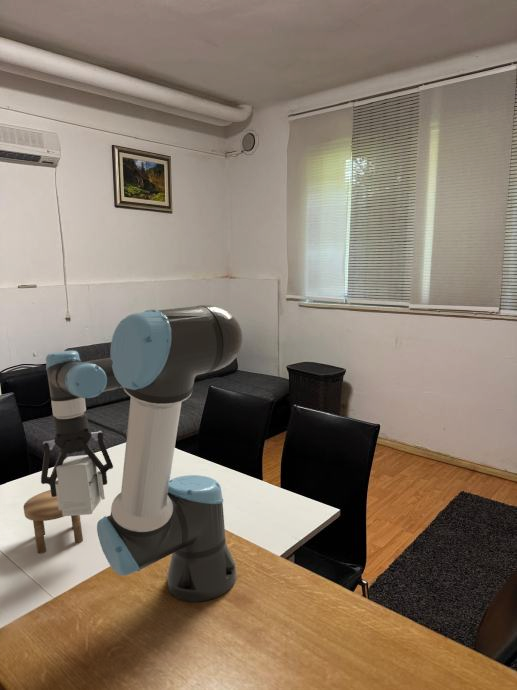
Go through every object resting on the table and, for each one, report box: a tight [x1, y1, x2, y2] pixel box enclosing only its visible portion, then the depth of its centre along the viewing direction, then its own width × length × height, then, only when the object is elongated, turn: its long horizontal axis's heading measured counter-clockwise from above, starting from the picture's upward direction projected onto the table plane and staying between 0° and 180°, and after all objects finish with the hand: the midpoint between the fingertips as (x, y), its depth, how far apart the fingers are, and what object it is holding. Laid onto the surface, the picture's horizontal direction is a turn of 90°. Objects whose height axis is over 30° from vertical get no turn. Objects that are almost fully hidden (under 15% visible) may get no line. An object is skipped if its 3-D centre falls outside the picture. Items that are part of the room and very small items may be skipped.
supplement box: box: [56, 454, 102, 517], centre depth 118 cm, size 7×7×13 cm
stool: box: [23, 489, 84, 555], centre depth 127 cm, size 15×15×11 cm
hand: (81, 502), depth 118 cm, fingers closed on supplement box, 9 cm apart
